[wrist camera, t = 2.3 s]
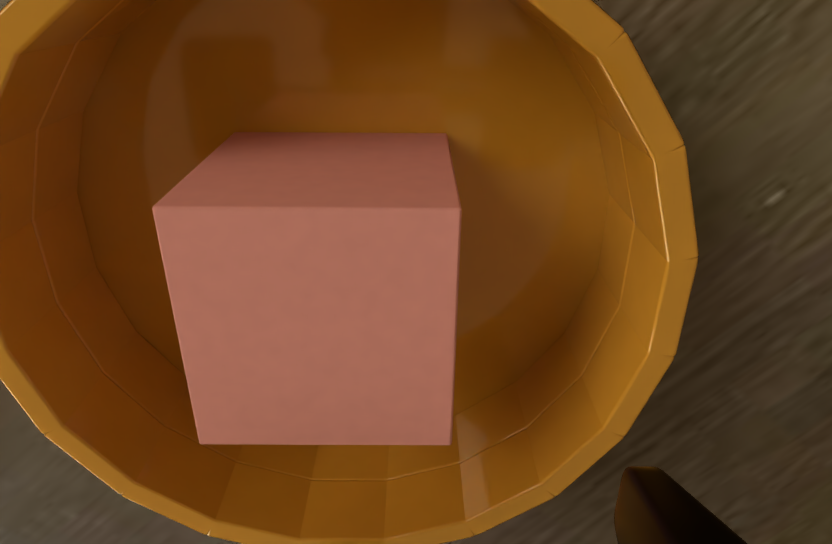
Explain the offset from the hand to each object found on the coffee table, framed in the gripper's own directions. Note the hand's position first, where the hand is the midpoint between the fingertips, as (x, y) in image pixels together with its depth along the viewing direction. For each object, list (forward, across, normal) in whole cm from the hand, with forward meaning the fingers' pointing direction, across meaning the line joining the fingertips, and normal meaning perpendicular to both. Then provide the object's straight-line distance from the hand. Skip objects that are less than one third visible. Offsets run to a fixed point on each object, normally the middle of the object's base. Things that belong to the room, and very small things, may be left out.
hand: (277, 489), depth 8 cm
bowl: (+9, 0, 0) cm, 9 cm away
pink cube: (+8, 0, 0) cm, 8 cm away
